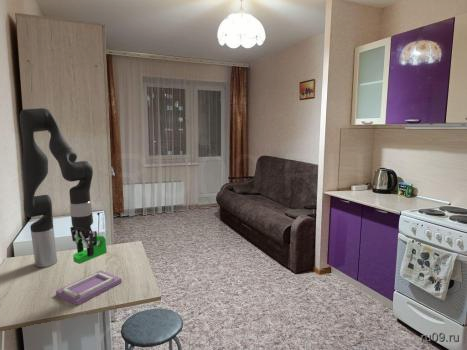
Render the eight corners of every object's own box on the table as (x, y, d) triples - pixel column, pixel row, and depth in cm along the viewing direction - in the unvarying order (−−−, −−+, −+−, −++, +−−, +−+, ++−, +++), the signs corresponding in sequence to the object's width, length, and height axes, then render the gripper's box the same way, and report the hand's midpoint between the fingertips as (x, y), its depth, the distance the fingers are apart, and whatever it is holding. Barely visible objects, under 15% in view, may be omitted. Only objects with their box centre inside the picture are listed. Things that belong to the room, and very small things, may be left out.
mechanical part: (97, 249, 136) (96, 231, 135) (106, 252, 133) (105, 234, 131) (70, 260, 126) (68, 241, 125) (79, 264, 123) (77, 244, 121)
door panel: (56, 294, 128) (55, 287, 127) (100, 274, 144) (100, 267, 144) (77, 305, 120) (76, 298, 120) (121, 282, 137) (121, 275, 136)
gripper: (61, 212, 126) (66, 253, 129) (83, 218, 118) (87, 261, 121) (79, 208, 132) (83, 247, 135) (101, 213, 124) (105, 254, 127)
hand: (85, 253), depth 128 cm, fingers closed on mechanical part, 6 cm apart
